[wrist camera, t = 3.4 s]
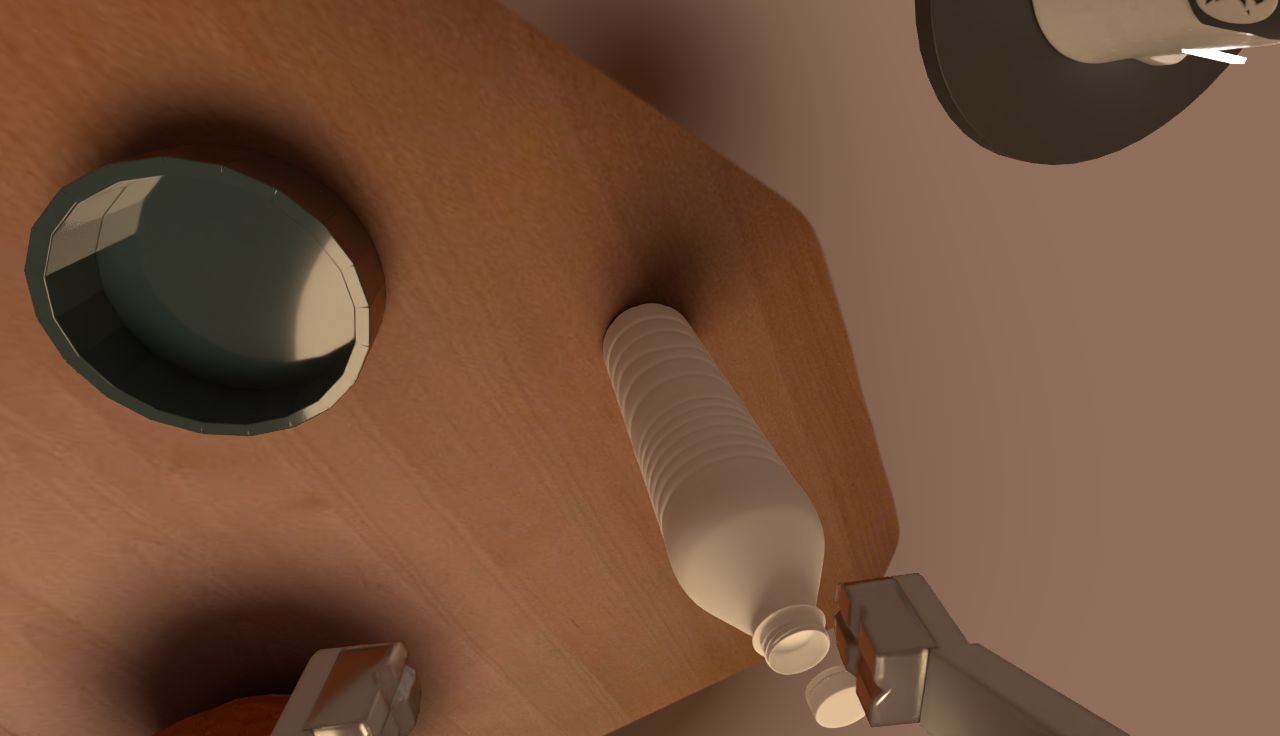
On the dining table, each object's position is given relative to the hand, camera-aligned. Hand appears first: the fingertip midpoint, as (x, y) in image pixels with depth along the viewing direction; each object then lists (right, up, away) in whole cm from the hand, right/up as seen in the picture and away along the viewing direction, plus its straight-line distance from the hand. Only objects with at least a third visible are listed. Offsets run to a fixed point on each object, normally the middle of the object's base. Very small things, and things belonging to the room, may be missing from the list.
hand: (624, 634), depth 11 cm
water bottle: (+1, +6, +31) cm, 32 cm away
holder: (-23, +10, +23) cm, 34 cm away
